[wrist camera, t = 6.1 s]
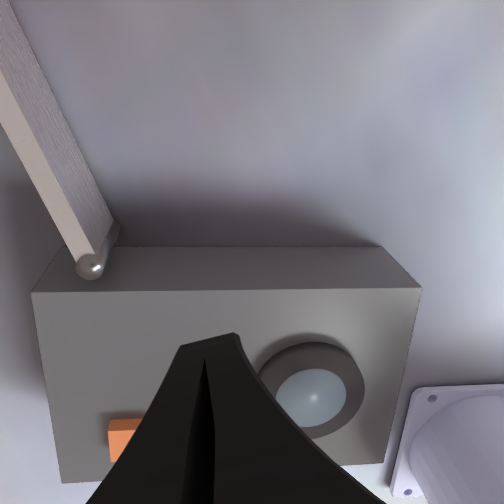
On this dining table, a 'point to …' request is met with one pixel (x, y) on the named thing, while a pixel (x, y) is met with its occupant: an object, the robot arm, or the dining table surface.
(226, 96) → the dining table surface
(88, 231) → the side door
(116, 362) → the camera case
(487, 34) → the dining table surface
